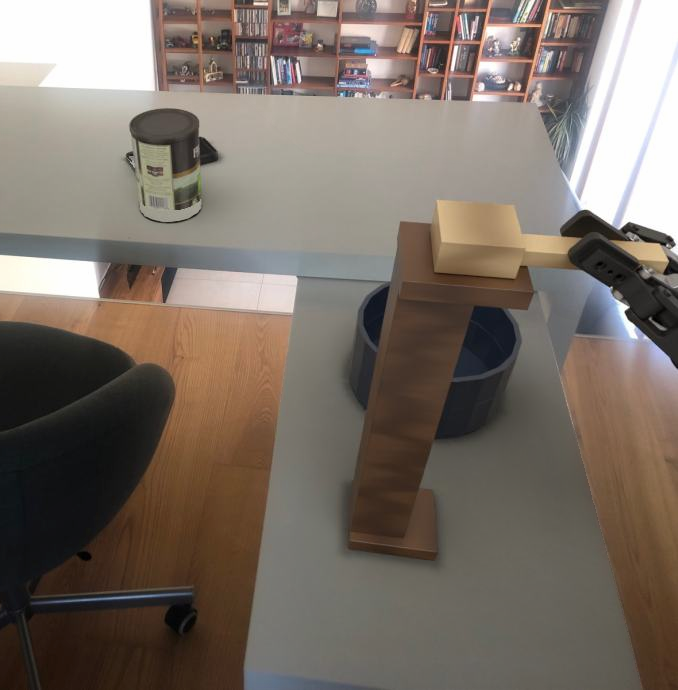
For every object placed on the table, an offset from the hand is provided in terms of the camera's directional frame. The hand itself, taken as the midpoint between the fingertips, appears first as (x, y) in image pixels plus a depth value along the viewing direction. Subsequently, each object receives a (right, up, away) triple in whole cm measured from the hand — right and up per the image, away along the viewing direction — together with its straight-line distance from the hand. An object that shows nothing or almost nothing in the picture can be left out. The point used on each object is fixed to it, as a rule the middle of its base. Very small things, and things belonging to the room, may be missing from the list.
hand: (576, 234), depth 44 cm
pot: (+2, -11, +38) cm, 40 cm away
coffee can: (-30, +15, +68) cm, 76 cm away
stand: (-6, -24, +24) cm, 35 cm away
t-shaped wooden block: (-2, -1, +2) cm, 3 cm away
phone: (-31, +26, +79) cm, 88 cm away
